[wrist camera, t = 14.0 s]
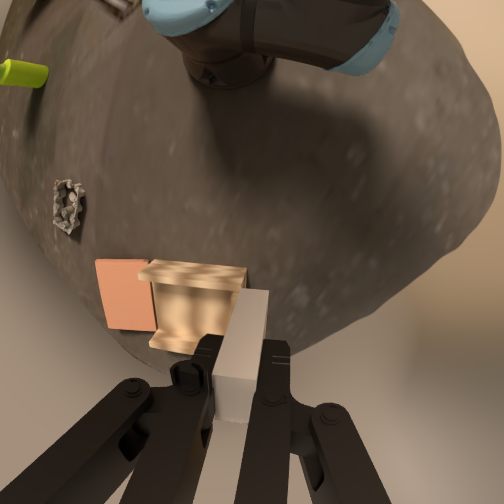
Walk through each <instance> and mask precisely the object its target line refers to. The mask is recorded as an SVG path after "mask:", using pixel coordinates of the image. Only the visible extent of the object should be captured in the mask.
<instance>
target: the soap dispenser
mask: <svg viewBox="0 0 504 504" xmlns="http://www.w3.org/2000/svg"><path fill="white" fill-rule="evenodd" d="M48 73H49V69H48V67H47V66H43V65H38V64H33V63H28V62H23V61H17V60H10V59H7V60H6V61H5V62H4V63H3V64H0V85H13V86H23V87H32V88H40V87H41V86H43V84H44V83H45V82H46V80H47V77H48Z"/></svg>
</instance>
